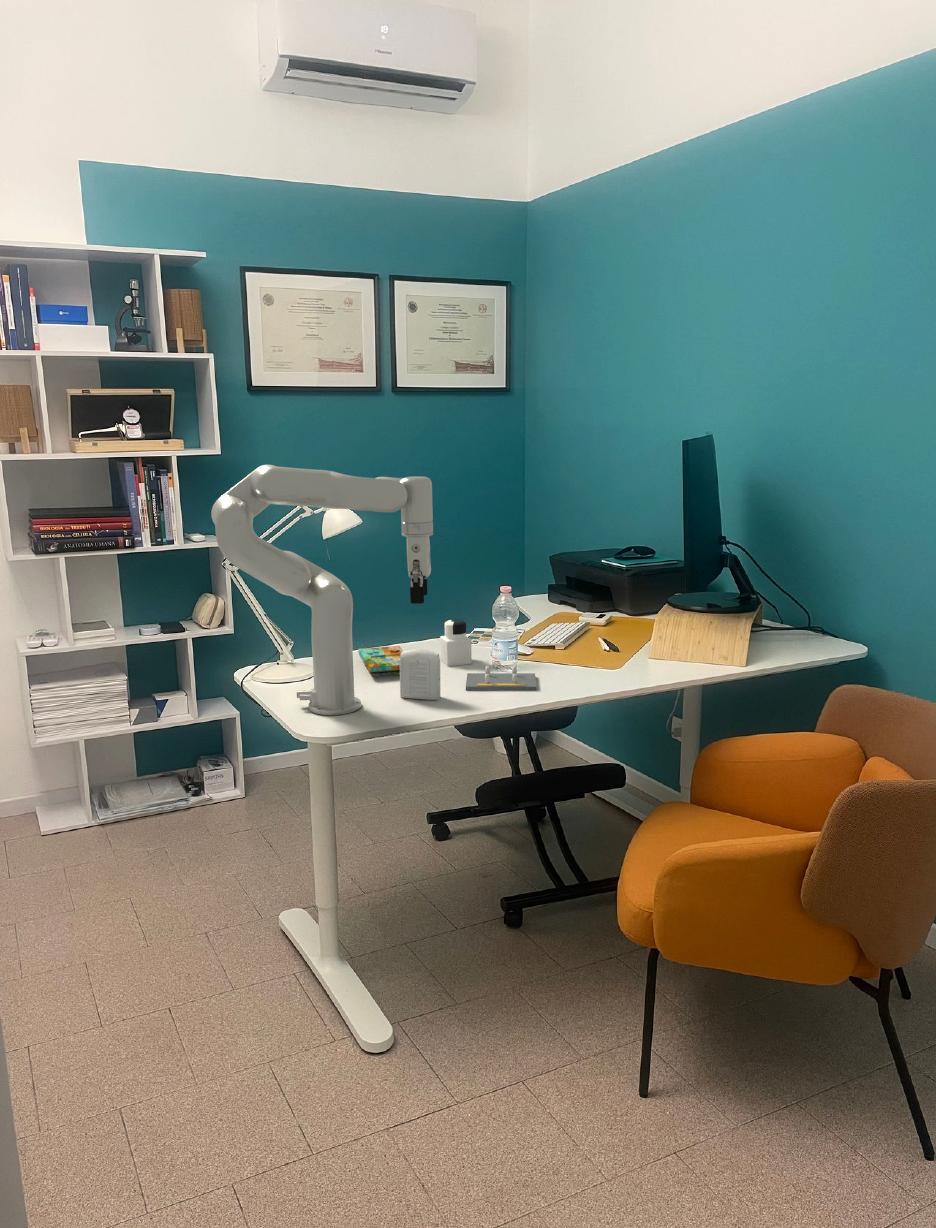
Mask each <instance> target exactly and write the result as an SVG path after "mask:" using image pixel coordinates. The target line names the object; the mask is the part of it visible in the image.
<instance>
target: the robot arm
mask: <svg viewBox="0 0 936 1228" xmlns="http://www.w3.org/2000/svg"><path fill="white" fill-rule="evenodd" d="M270 505H280V506H296V507H297V506H299V507H309V508H310V507H311V508H322V509H323V508H325V509H332V510H353V511H363V512H364V511H365V512H379V513H395V512H397V511H400V517H401V518H400V522H401V525H400V526H401V536H402V537H406V560H407V562H406V563H407V573H408V577H409V578H410V588H409V589H410V590H409V592H410V594H409V598H410V603H411V605H412V604H413V605H415V604H416V605H418V604H419V605H420V604H424V603H425V596H427V595H428V577H430V575H431V572H432V567H431V566H432V565H431V564H432V562H431V543H430V542H431V541H430V537H431V536H434V522H433V520H434V517H433V516H434V515H433V512H434V511H433V483H432V480H431V478H429V477H427V476H422V475H421V476H415V475H414V476H406V477H392V476H391V477H389V476H378V477H375V478H374V477H364V476H355V475H349V474H343V473H340V472H338V471H337V472H336V471H333V470H325V469H313V468H301V467H300V468H297V467H286V466H277V465H274V464H263V465H260V466H258V467H257V468H256V469H254V470H253V471H251V472H250V473H248V475H247V476H245V477H244V478H243V479H242V480H240V481H239V482H237V484H235V485H234V486H233V487H231V488H230V489H229V490H228V491H226V492H225V493H223V494H222V495H221V496H220V497H218V499H216V501H215V502H214V504H213V505H212V508H211V511H210V512H211V515H210V516H211V520H212V522H213V524H214V526H215V529H214V530H215V539H216V542H217V546H218V548H219V550H220V553H222V555H223V556H224V558H225V559H226V560H227V561H228V562H229V563H230V564H232V565H233V566H234V567H236V568H237V569H239V570H240V571H243V572H244V573H246V574H248V575H250V576H251V577H253V578H254V579H256V580H258V581H259V582H262V583H263V584H265V585H267V586H269V587H270V588H272V589H274V590H275V591H276V592H277V593H279V594H281V595H285V596H290V597H292V598H294V599H296V600H298V601H300V602H301V603H303V604H305V605H307V606H308V607H310V608H311V635H310V636H311V650H312V651H311V652H312V653H311V654H312V671H313V672H312V673H313V689H311V688H310V690H297V691H296V698H297V699H299V701H309V702H308V710H309V711H310V712H311V713H314V714H318V715H322V716H339V715H345V714H346V715H347V714H350V713H353V712H356V711H358V710H360V708H361V706H362V700H361V699H360V698H358V697H356V696H355V679H354V677H355V676H354V674H355V673H354V652H353V650H354V647H353V613H354V612H353V611H354V601H353V600H354V599H353V595H352V592H351V591H350V588H349V586H347V584H345V583H344V582H343V581H342V580H341V579H339V578H338V577H337V576H335V575H334V574H333V573H331V572H329V571H328V570H326V569H323V568H322V567H320V566H318V565H317V564H315V563H313V562H311V560H307V559H306V558H304V557H303V556H301V555H299V554H297V553H295V552H293V551H289V550H283V549H280V548H278V547H276V546H275V545H273V544H272V543H270V542H269V541H267V540H265V539H263V538H261V537H259V536H258V534H256V531H255V530H254V525H253V524H254V518H255V517H256V516H258V515H259V514H260V513H262V511H264V510H265V509H266V508H268V507H269V506H270Z"/></svg>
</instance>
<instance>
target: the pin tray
mask: <svg viewBox="0 0 936 1228" xmlns="http://www.w3.org/2000/svg"><path fill="white" fill-rule="evenodd" d="M517 670H518V668H517V666H516V665H513V666H512V667H511V672H509V673H505V672H503V673H502V672H501V673H500V672H497V673H496V672H495V673H493V672H492V673H491V666H490V665H486V666H485V672H481V673H480V672H477V673H476V672H474V673H472V672H470V673H466V680H465V691H538V690H537V688H538V687H537V686H538V685H537V679H536V673H535V672H533V673H526V672H525V673H523V672H522V673H521V672H519V673H518V672H517Z"/></svg>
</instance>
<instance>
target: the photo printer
mask: <svg viewBox="0 0 936 1228" xmlns="http://www.w3.org/2000/svg"><path fill="white" fill-rule="evenodd" d="M399 694H400V695H399V696H400V698H402V699H404V698H405V699H417V700H429V701H430V700H432V701H438V700H440V699H441V659H440V653H438V652H435V651H433V650H428V649H423V648H413V649H406V650H403V652H402V653H401V656H400V674H399Z"/></svg>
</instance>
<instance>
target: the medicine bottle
mask: <svg viewBox="0 0 936 1228" xmlns="http://www.w3.org/2000/svg"><path fill="white" fill-rule="evenodd" d="M439 639H440V641H439V645H440V647H439V651H440V652H439V657H440V662H442V663H443V664H445V665H446V666H447V667H454V666H465V665H472V662H473V661H472V659H473V658H472V639H471V638H469V637H468V636H467V622H466V621H464V620H462V619H449V620H447V621H445V622H444V635H441V636H439Z"/></svg>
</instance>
